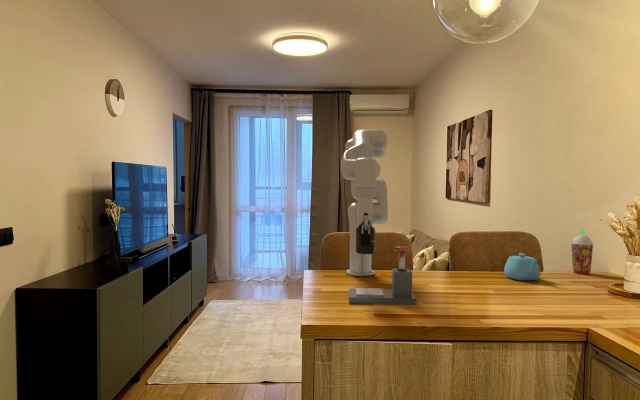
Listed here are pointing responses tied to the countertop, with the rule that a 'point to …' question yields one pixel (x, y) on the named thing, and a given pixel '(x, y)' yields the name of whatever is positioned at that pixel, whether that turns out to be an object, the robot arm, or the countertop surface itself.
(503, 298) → the countertop surface
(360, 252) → the supplement bottle
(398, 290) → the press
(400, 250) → the plunger
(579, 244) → the smoothie
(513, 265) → the teapot
